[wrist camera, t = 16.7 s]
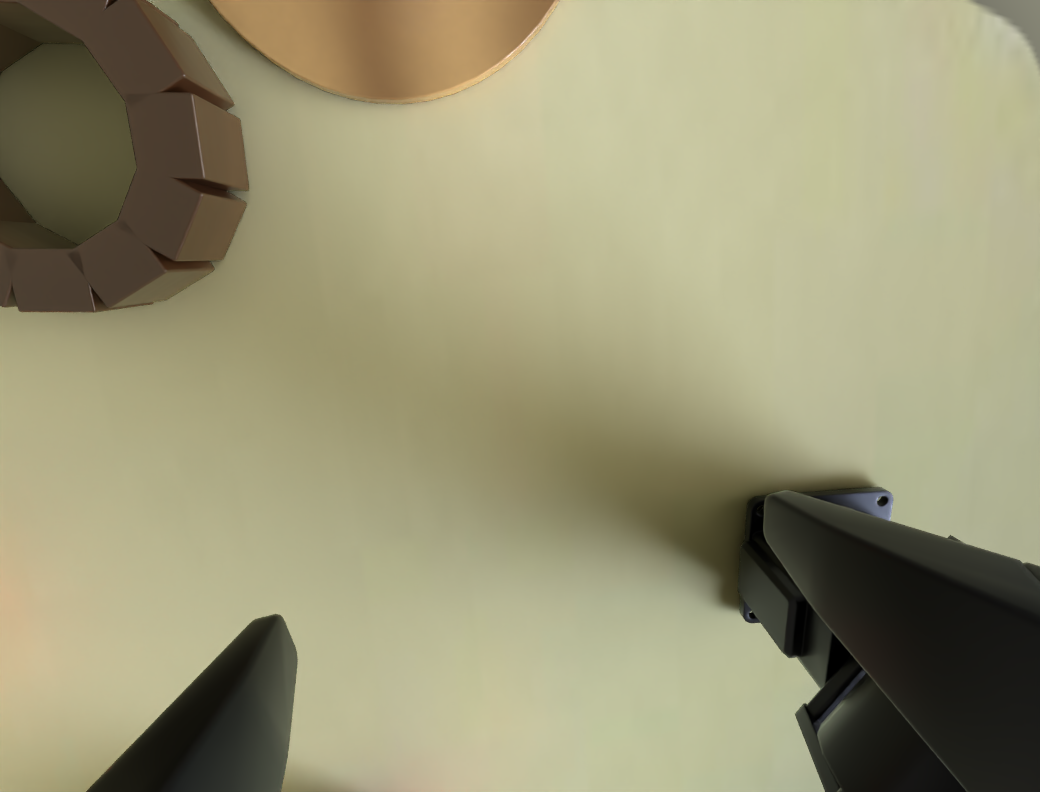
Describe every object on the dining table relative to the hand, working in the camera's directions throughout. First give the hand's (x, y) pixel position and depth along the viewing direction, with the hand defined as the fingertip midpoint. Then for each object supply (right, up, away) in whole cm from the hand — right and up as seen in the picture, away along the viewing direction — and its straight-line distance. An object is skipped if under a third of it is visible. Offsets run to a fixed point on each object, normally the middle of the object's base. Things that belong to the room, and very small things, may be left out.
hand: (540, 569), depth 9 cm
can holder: (-16, +12, +9) cm, 21 cm away
